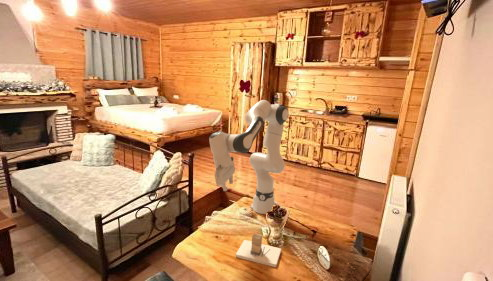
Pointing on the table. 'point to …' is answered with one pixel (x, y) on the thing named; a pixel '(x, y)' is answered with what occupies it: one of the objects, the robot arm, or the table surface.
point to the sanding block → (256, 244)
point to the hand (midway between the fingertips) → (228, 186)
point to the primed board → (266, 257)
